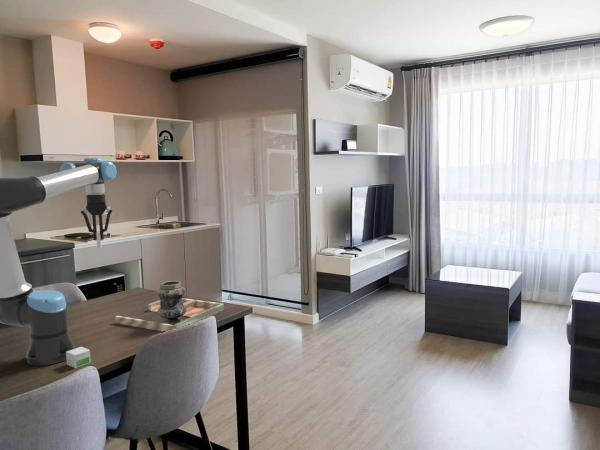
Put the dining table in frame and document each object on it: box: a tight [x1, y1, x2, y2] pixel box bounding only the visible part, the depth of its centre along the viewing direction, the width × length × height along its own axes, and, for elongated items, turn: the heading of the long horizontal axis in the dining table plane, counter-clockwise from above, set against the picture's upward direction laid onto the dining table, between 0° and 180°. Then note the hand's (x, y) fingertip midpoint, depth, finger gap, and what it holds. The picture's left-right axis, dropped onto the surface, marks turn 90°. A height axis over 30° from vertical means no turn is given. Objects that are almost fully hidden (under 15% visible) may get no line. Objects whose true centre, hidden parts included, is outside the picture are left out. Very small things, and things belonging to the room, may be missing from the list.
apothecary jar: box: [156, 280, 187, 325], centre depth 198 cm, size 12×12×18 cm
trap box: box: [115, 298, 225, 332], centre depth 209 cm, size 32×34×3 cm
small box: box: [66, 346, 91, 369], centre depth 159 cm, size 6×6×5 cm
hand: (99, 247), depth 203 cm, fingers closed
